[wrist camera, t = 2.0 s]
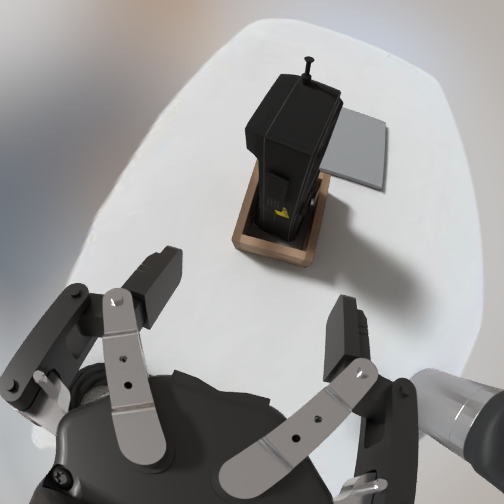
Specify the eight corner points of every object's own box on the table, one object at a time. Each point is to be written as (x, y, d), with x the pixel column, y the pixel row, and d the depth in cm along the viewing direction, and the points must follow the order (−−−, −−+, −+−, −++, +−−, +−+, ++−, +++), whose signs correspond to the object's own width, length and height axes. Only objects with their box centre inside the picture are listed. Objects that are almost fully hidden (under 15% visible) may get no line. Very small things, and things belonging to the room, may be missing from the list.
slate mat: (383, 125, 41) (385, 122, 40) (379, 190, 39) (382, 187, 38) (299, 99, 42) (300, 95, 41) (282, 160, 40) (283, 157, 39)
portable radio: (289, 251, 37) (337, 157, 13) (250, 233, 38) (231, 117, 13) (311, 202, 39) (367, 75, 14) (273, 186, 39) (284, 46, 15)
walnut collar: (323, 189, 39) (330, 174, 34) (305, 267, 37) (312, 261, 32) (258, 172, 40) (258, 155, 35) (235, 248, 38) (231, 239, 33)
